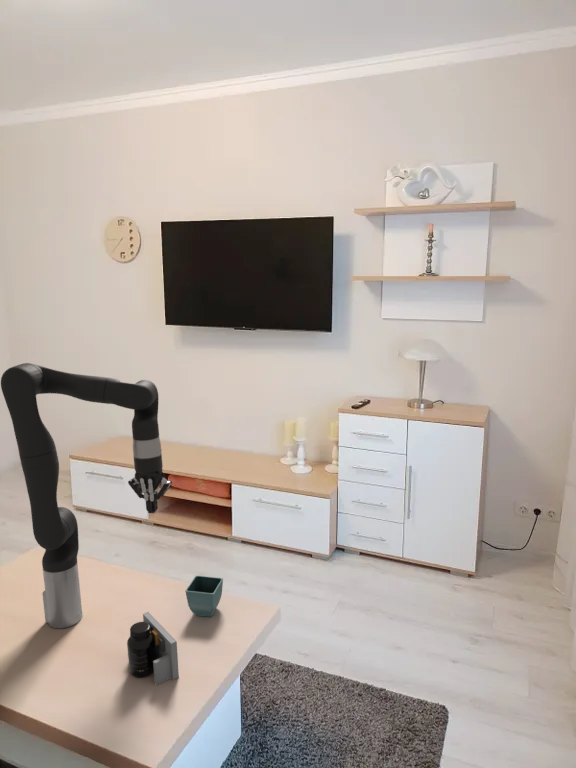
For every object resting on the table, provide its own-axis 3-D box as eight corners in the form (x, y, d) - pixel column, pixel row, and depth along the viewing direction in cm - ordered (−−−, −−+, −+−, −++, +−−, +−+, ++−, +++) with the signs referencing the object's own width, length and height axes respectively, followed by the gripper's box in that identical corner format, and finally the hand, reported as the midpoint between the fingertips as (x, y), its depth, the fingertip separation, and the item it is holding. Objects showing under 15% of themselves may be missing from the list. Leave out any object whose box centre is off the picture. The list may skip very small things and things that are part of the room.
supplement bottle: (132, 661, 146) (129, 619, 144) (159, 659, 147) (156, 618, 144) (126, 679, 139) (123, 636, 137) (154, 678, 140) (151, 634, 137)
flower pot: (215, 622, 162) (213, 593, 160) (186, 619, 164) (184, 590, 162) (224, 605, 170) (223, 577, 169) (196, 602, 172) (195, 575, 171)
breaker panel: (158, 687, 137) (155, 650, 135) (131, 654, 149) (128, 619, 147) (178, 677, 140) (176, 641, 138) (150, 645, 152) (148, 611, 150)
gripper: (118, 456, 154) (124, 515, 157) (162, 458, 150) (167, 519, 154) (133, 447, 161) (138, 505, 164) (175, 450, 157) (179, 508, 161)
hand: (152, 512), depth 159 cm, fingers closed
